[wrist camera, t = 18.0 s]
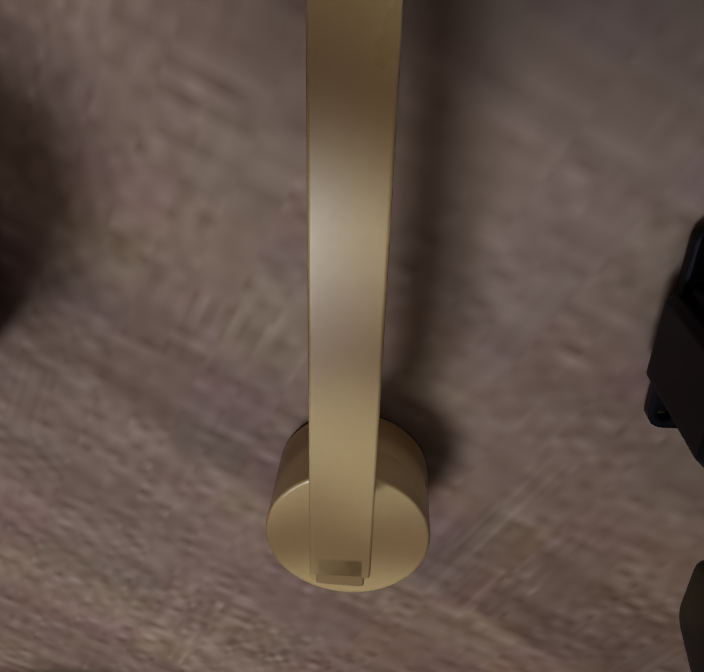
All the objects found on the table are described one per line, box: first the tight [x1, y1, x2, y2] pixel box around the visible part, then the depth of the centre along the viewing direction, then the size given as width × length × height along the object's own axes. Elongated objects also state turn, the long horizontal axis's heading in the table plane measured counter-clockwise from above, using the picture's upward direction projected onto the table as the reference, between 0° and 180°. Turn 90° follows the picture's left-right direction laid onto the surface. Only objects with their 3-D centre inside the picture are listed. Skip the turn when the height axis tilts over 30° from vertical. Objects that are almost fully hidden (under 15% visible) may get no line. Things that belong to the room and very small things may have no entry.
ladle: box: [266, 0, 430, 592], centre depth 17 cm, size 18×5×6 cm, turn 178°
